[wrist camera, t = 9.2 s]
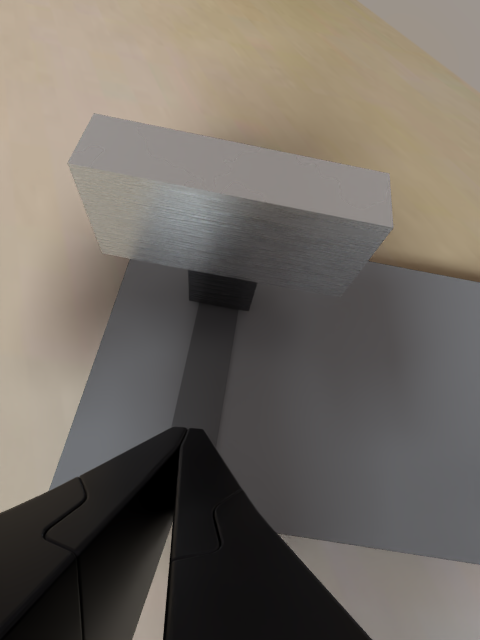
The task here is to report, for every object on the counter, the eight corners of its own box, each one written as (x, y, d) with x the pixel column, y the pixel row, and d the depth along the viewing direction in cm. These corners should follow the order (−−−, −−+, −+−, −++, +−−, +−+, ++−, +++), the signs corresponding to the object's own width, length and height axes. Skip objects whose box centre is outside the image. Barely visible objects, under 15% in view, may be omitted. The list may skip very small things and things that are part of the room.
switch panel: (685, 591, 17) (783, 612, 14) (71, 496, 16) (44, 497, 13) (594, 334, 23) (650, 313, 21) (150, 251, 22) (143, 215, 19)
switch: (317, 327, 17) (393, 227, 11) (116, 290, 17) (67, 163, 10) (319, 287, 18) (389, 173, 12) (130, 251, 18) (94, 113, 11)
